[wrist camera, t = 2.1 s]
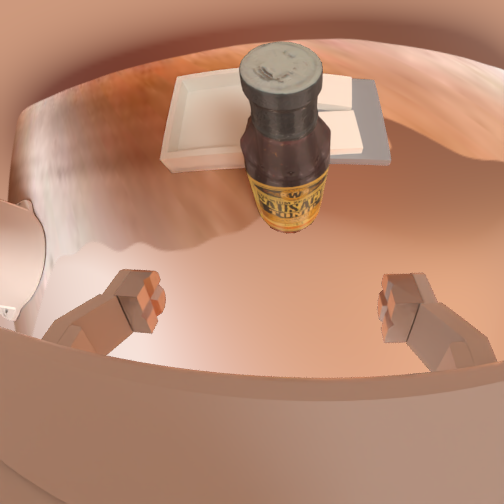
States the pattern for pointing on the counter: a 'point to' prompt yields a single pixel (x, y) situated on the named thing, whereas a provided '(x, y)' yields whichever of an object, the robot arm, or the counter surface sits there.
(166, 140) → the bin
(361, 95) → the slate board
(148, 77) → the counter surface
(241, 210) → the counter surface
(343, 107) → the tile
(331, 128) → the tile
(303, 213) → the sauce bottle
